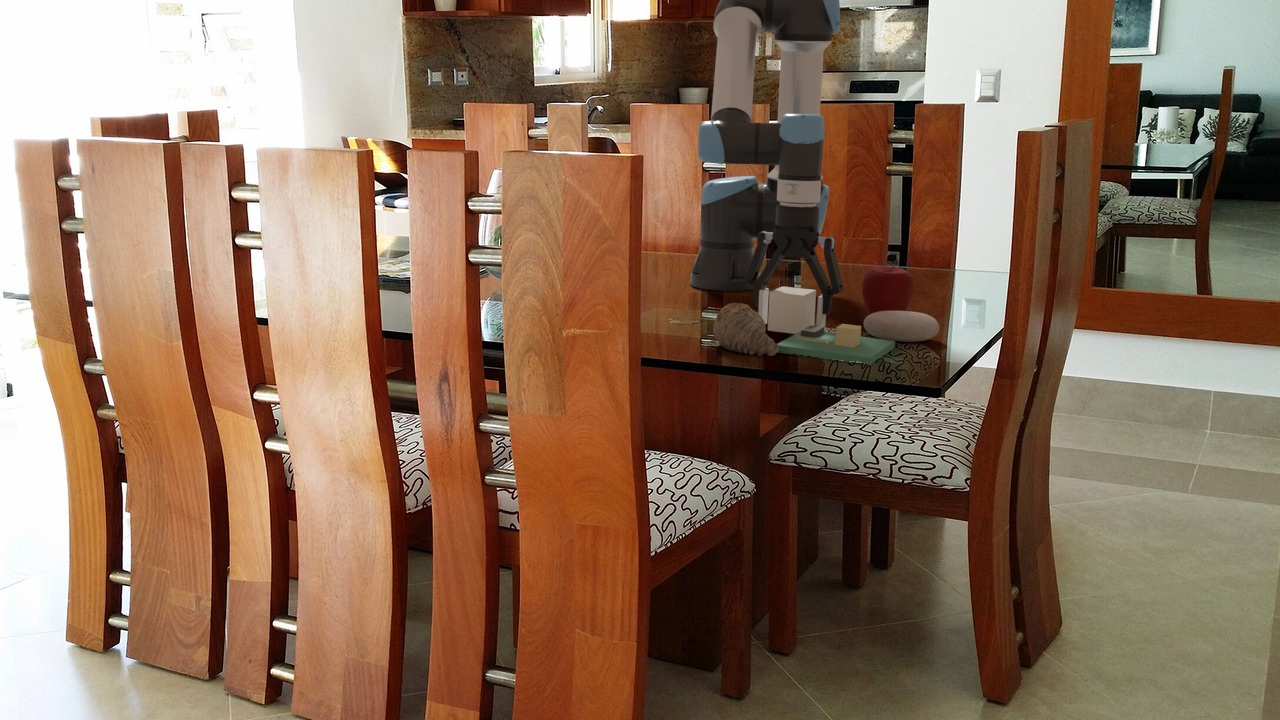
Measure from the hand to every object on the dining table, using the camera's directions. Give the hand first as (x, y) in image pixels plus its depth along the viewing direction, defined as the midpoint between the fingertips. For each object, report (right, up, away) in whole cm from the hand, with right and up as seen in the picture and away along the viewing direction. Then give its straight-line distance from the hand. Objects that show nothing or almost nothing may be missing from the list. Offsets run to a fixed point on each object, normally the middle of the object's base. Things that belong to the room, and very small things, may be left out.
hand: (790, 328), depth 199 cm
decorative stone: (+18, -3, -6) cm, 19 cm away
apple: (+19, +2, +12) cm, 23 cm away
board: (+5, -4, -15) cm, 16 cm away
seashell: (-9, -4, -14) cm, 17 cm away
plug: (0, 0, 0) cm, 0 cm away
